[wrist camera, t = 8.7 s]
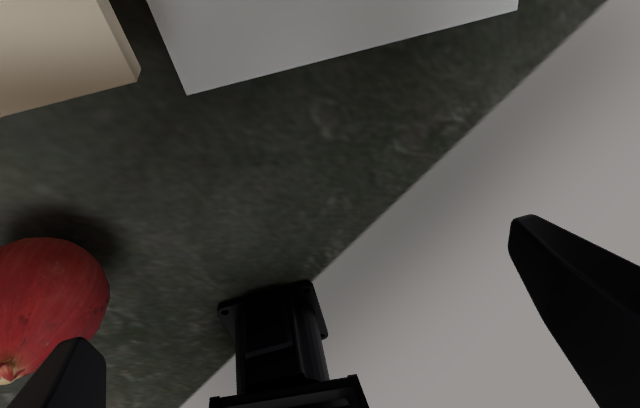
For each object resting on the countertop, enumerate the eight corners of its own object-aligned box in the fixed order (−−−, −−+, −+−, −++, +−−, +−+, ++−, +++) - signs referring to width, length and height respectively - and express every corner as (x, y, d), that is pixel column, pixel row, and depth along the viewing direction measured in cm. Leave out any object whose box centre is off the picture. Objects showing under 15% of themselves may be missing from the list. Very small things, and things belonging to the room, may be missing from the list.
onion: (143, 242, 24) (117, 374, 18) (79, 294, 26) (36, 432, 19) (40, 183, 21) (-36, 322, 14) (-26, 247, 22) (-119, 397, 16)
